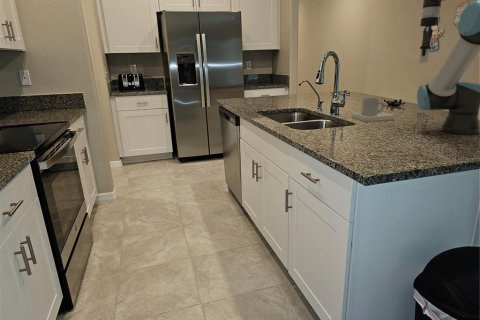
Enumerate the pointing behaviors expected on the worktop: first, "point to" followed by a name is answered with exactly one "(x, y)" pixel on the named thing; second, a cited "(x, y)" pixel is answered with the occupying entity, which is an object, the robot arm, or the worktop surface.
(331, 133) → the worktop surface
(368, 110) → the mug
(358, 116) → the tray
